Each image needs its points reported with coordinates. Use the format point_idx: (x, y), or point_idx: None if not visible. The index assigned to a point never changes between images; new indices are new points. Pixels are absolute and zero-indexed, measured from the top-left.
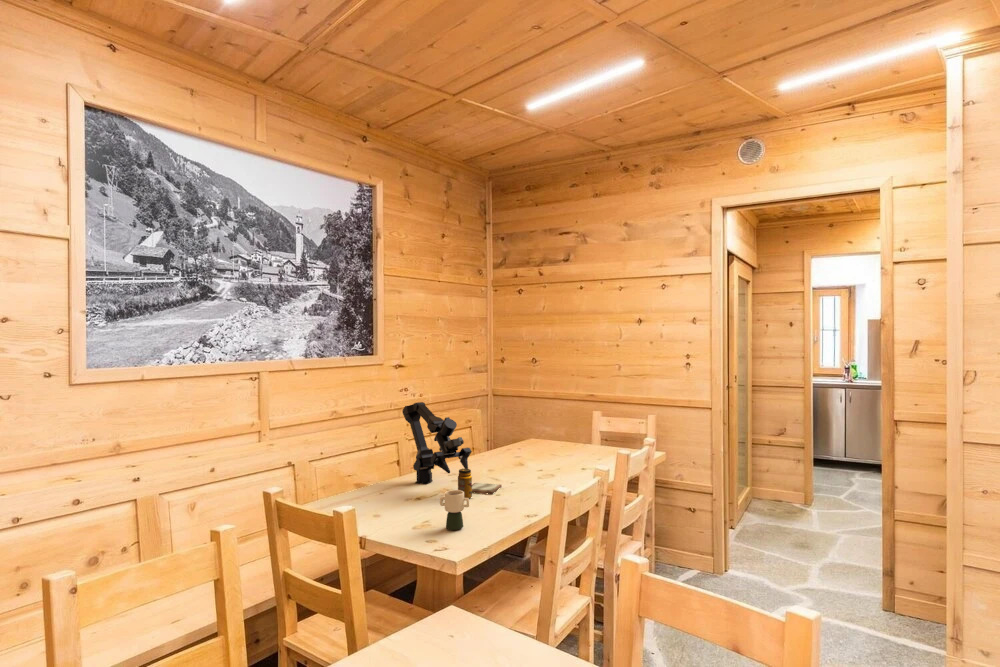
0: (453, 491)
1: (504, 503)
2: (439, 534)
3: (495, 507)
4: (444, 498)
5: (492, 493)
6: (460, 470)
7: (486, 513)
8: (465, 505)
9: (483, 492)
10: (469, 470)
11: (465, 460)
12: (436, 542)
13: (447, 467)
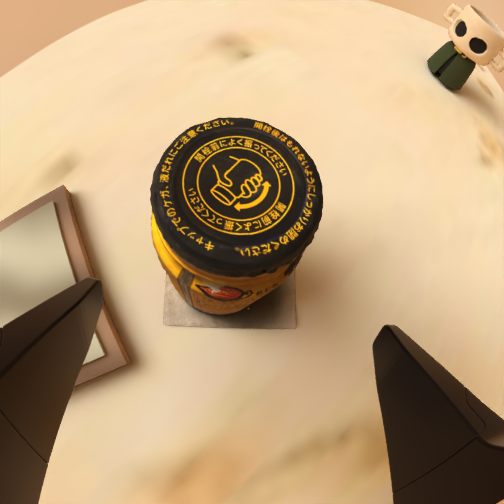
0: (489, 28)
1: (172, 66)
2: (472, 89)
3: (242, 61)
4: (501, 51)
5: (67, 190)
6: (314, 200)
7: (317, 55)
8: (452, 19)
9: (79, 239)
10: (221, 120)
11: (6, 358)
12: (479, 78)
13: (432, 366)
